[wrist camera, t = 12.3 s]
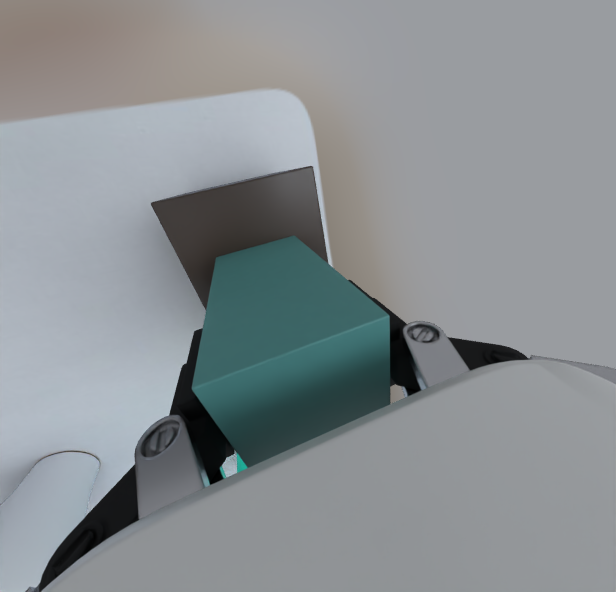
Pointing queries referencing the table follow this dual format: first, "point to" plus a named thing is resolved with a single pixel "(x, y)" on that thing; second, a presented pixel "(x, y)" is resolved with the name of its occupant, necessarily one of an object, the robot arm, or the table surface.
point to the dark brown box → (240, 220)
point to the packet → (288, 350)
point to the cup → (42, 516)
